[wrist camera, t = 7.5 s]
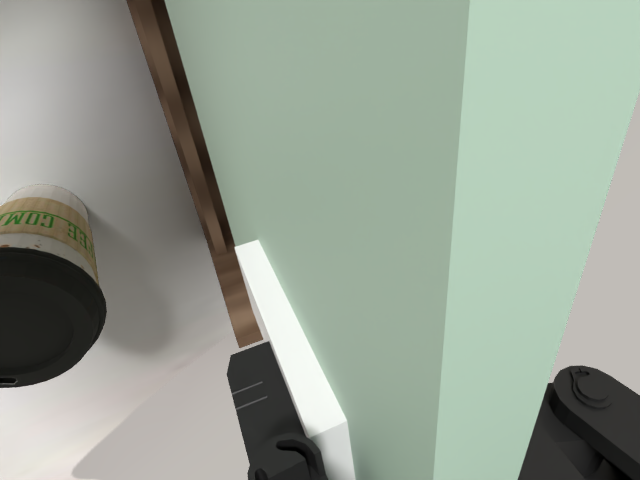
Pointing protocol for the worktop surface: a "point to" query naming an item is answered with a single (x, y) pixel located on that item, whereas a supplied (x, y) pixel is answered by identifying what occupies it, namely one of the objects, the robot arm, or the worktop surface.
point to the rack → (194, 158)
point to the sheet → (419, 197)
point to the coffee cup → (46, 285)
